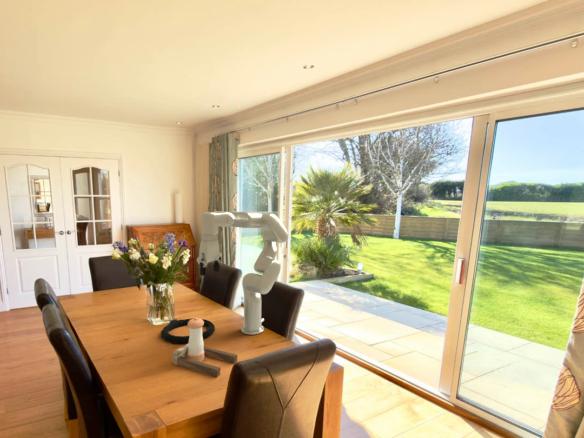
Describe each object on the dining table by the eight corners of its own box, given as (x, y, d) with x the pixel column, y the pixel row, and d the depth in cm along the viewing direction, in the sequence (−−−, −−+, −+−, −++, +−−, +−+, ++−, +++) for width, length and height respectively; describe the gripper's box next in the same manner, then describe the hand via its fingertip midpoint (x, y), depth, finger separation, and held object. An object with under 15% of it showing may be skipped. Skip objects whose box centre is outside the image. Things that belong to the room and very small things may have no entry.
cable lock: (179, 342, 151) (148, 326, 170) (179, 350, 151) (148, 333, 170) (225, 325, 172) (193, 312, 191) (225, 332, 172) (193, 318, 191)
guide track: (195, 350, 151) (195, 339, 151) (237, 361, 141) (237, 350, 141) (172, 363, 138) (172, 352, 138) (217, 377, 128) (217, 365, 128)
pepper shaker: (190, 365, 137) (190, 322, 136) (185, 358, 143) (184, 316, 142) (206, 360, 141) (206, 318, 140) (201, 354, 147) (200, 313, 146)
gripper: (215, 235, 161) (215, 269, 162) (191, 239, 145) (191, 276, 146) (227, 236, 158) (227, 270, 159) (204, 240, 142) (204, 278, 143)
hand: (210, 273), depth 153 cm, fingers open, 9 cm apart
